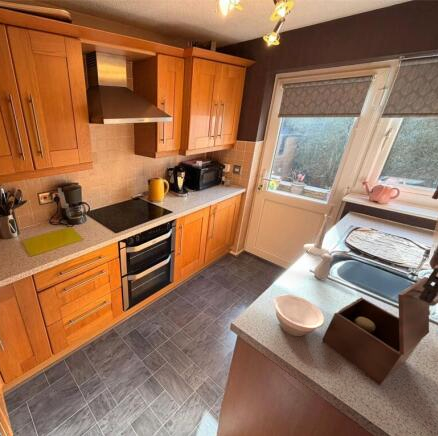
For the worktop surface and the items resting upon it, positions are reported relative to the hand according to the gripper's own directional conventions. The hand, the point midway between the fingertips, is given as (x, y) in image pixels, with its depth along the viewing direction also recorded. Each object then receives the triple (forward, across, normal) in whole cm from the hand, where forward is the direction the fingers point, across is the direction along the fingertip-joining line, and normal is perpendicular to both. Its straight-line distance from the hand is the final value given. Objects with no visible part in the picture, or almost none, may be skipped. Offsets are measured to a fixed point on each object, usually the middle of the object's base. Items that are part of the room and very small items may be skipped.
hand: (431, 295), depth 62 cm
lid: (+8, 0, +1) cm, 8 cm away
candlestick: (+30, +52, +52) cm, 79 cm away
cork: (+29, 0, +8) cm, 30 cm away
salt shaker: (+30, +28, +36) cm, 55 cm away
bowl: (+30, -12, +23) cm, 40 cm away
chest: (+30, 0, +6) cm, 30 cm away
